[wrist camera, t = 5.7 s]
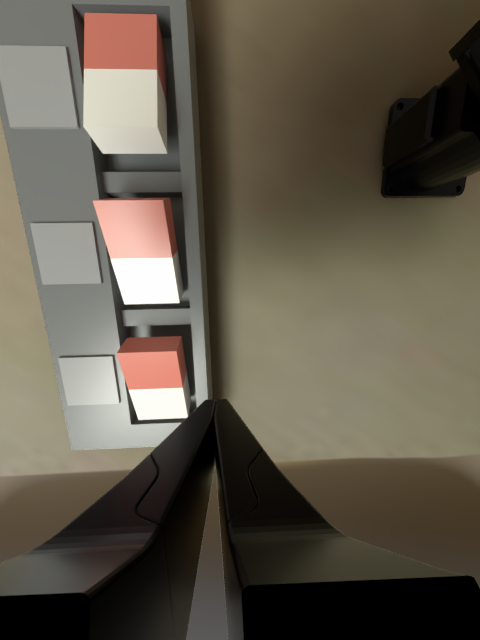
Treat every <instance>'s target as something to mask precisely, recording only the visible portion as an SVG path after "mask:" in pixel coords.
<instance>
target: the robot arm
mask: <svg viewBox="0 0 480 640" xmlns="http://www.w3.org/2000/svg"><path fill="white" fill-rule="evenodd" d="M449 54H450V56H451V58H452V60H453V61H454V60H456V61H457V63H458V64H459V66H460V67H459V68H458V69H457V70H456V71H455V72H454V73H452V74H451V75H450V76H449V77H448V78H447V79H446V80H445V81H443V82H442V83H441V84H440V85H439V86H437V85H436V86H434V87H433V88H432V89H430V90H429V91H428V92H427V93H426V94H425V95H424V96H423V97H421V98H420V99H419V98H401V99H398V100H396V101H395V102H394V103H393V104H392V106H391V108H390V113H389V123H388V128H387V130H386V139H385V148H384V158H383V167H384V169H383V179H382V188H381V194H382V196H383V197H385V198H429V197H456V196H459V195H461V194H462V193H463V191H464V188H465V183H466V177H467V176H469V175H471V174H474V173H476V172H479V171H480V20H479V21H478V22H477V23H476V24H475V25H474V26H473V27H472V28H471V29H470V30H469V31H468V32H467V33H466V34H465V35H464V36H463V38H462V39H461V40H460V41H459V42H458V43H457V44H456V45H455V46H454V47H453V48H452V49H451V50H450V51H449ZM397 106H398V107H399V108H400V111H399V110H398V109H397ZM388 188H390V193H389V192H388V190H387V189H388ZM455 188H456V189H457V191H455ZM215 463H216V479H217V493H218V506H219V519H220V533H221V545H222V559H223V572H224V586H225V600H226V613H227V626H228V640H480V588H479V586H478V584H477V582H476V581H475V579H474V578H473V577H472V576H467V575H462V574H458V573H454V572H450V571H446V570H443V569H439V568H436V567H433V566H430V565H427V564H425V563H422V562H419V561H416V560H413V559H410V558H407V557H404V556H402V555H399V554H396V553H393V552H390V551H387V550H384V549H382V548H379V547H376V546H373V545H370V544H367V543H364V542H361V541H358V540H356V539H353V538H351V537H348V536H346V535H345V534H343V533H342V532H340V531H339V530H337V529H336V528H335V527H334V526H332V525H331V524H330V523H329V522H328V521H327V520H326V519H325V518H324V517H323V516H322V515H321V514H320V513H319V512H318V511H317V510H316V508H314V507H313V505H312V504H311V503H310V502H309V501H308V500H307V499H306V498H305V497H304V496H303V495H302V494H301V493H300V492H299V491H298V490H297V489H296V487H295V486H293V484H292V483H291V482H290V481H289V480H288V479H287V478H286V477H285V476H284V474H282V472H281V471H280V470H279V469H278V468H277V466H276V465H275V464H274V462H273V461H272V460H271V459H270V457H269V456H268V454H267V453H266V452H265V450H264V449H263V448H262V446H261V445H260V444H259V442H258V441H257V439H256V438H255V437H254V435H253V434H252V433H251V431H250V430H249V428H248V427H247V426H246V424H245V423H244V422H243V420H242V419H241V417H240V416H239V415H238V413H237V412H236V411H235V409H234V408H233V406H232V405H231V404H230V402H229V401H228V400H227V399H217V400H215V399H207V400H204V401H203V402H202V403H201V404H200V405H199V406H198V407H197V408H196V409H195V410H194V411H193V412H192V413H191V414H190V415H189V416H188V417H187V418H186V419H185V420H184V421H183V422H182V423H181V424H180V425H179V426H178V427H177V428H176V429H175V430H174V431H173V432H172V433H171V434H170V435H169V436H168V437H167V438H166V439H164V440H163V441H162V442H161V443H160V444H159V445H158V446H157V447H156V448H155V449H154V450H153V451H152V452H151V453H150V455H148V456H147V457H146V458H145V459H144V460H143V461H142V462H141V463H140V464H139V465H138V466H136V467H135V468H134V469H133V470H132V471H131V472H130V473H129V474H128V475H127V476H126V477H124V478H123V479H122V480H121V481H120V482H119V483H118V484H116V485H115V486H114V487H113V488H112V489H110V490H109V491H108V492H107V493H106V494H104V495H103V496H102V497H101V498H100V499H98V500H97V501H96V502H95V503H93V504H92V505H91V506H90V507H89V508H87V509H86V510H85V511H84V512H83V513H81V514H80V515H79V516H78V517H76V518H75V519H74V520H73V521H72V522H70V523H69V524H68V525H67V526H65V527H64V528H63V529H62V530H61V531H59V532H58V533H57V534H55V535H54V536H53V537H51V538H50V539H49V540H47V541H46V542H44V543H43V544H41V545H40V546H38V547H36V548H34V549H33V550H31V551H29V552H27V553H24V554H22V555H20V556H17V557H15V558H12V559H9V560H6V561H3V562H0V640H186V636H187V630H188V624H189V617H190V612H191V606H192V600H193V593H194V587H195V581H196V576H197V570H198V564H199V558H200V552H201V546H202V540H203V534H204V528H205V521H206V516H207V510H208V503H209V498H210V492H211V486H212V480H213V474H214V467H215Z"/></svg>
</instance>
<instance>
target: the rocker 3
mask: <svg viewBox="0 0 480 640" xmlns="http://www.w3.org/2000/svg"><path fill="white" fill-rule="evenodd" d="M116 354H117V357H118V360H119V363H120V366H121V369H122V372H123V375H124V378H125V381H126V384H127V387H128V390H129V393H130V396H131V399H132V402H133V405H134V408H135V411H136V414H137V417H138V420H150V419H173V418H187V417H188V415H189V409H190V404H191V395H190V388H189V382H188V375H187V369H186V362H185V356H184V349H183V343H182V336H169V337H135V338H127V339H126V340H125V342H124V343H123V345H122V346H121V347H120V349H119V350H118V352H117V353H116Z"/></svg>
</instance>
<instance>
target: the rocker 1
mask: <svg viewBox="0 0 480 640" xmlns="http://www.w3.org/2000/svg"><path fill="white" fill-rule="evenodd" d="M83 127H84V128H85V130H86V131H87V132H88V134H89V135H90V136H91V138H92V139H93V141H94V142H95V143H96V145H97V146H98V148H99V149H100V150H101V152H102V153H103V154H167V85H166V52H165V48H164V44H163V39H162V35H161V31H160V27H159V23H158V18H157V14H120V13H85V17H84V104H83Z"/></svg>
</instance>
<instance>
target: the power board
mask: <svg viewBox="0 0 480 640" xmlns="http://www.w3.org/2000/svg"><path fill="white" fill-rule="evenodd" d="M85 13H120V14H157V18H158V23H159V27H160V31H161V35H162V39H163V44H164V48H165V52H166V85H167V154H103V153H102V152H101V150H100V149H99V148H98V146H97V145H96V143H95V142H94V141H93V139H92V138H91V136H90V135H89V134H88V132H87V131H86V130H85V128H84V127H83V104H84V17H85ZM0 115H1V120H2V124H3V129H4V134H5V138H6V143H7V148H8V152H9V157H10V162H11V167H12V171H13V176H14V181H15V185H16V190H17V195H18V199H19V204H20V209H21V214H22V218H23V223H24V228H25V232H26V237H27V242H28V246H29V251H30V256H31V261H32V265H33V270H34V275H35V279H36V284H37V289H38V293H39V298H40V303H41V308H42V312H43V317H44V322H45V326H46V331H47V336H48V340H49V345H50V350H51V355H52V359H53V364H54V369H55V373H56V378H57V383H58V388H59V392H60V397H61V402H62V406H63V411H64V416H65V420H66V425H67V430H68V435H69V439H70V444H71V449H72V450H92V449H114V448H135V447H157V446H158V445H159V444H160V443H161V442H162V441H163V440H164V439H166V438H167V437H168V436H169V435H170V434H171V433H172V432H173V431H174V430H175V429H176V428H177V427H178V426H179V425H180V424H181V423H182V422H183V421H184V420H185V419H186V418H173V419H150V420H138V417H137V414H136V411H135V408H134V405H133V402H132V399H131V396H130V393H129V390H128V387H127V384H126V381H125V378H124V375H123V372H122V369H121V366H120V363H119V360H118V357H117V354H116V353H117V352H118V350H119V349H120V347H121V346H122V345H123V343H124V342H125V340H126V339H127V338H135V337H169V336H182V343H183V349H184V356H185V362H186V369H187V375H188V382H189V388H190V395H191V404H190V409H189V415H190V414H191V413H192V412H193V411H194V410H195V409H196V408H197V407H198V406H199V405H200V404H201V403H202V402H203V401H204V400H207V399H213V391H212V371H211V350H210V330H209V310H208V290H207V270H206V249H205V229H204V209H203V189H202V169H201V148H200V128H199V108H198V88H197V68H196V47H195V29H194V22H193V15H192V9H191V2H190V0H0ZM106 198H170V201H171V208H172V215H173V221H174V228H175V235H176V242H177V249H178V256H179V262H180V269H181V276H182V283H183V290H184V293H183V296H182V298H181V301H180V303H163V304H124V301H123V298H122V295H121V292H120V288H119V285H118V282H117V279H116V275H115V272H114V269H113V265H112V262H111V259H110V256H109V252H108V249H107V246H106V243H105V239H104V236H103V233H102V230H101V226H100V223H99V220H98V216H97V213H96V210H95V207H94V203H93V200H99V199H106ZM189 415H188V416H189Z"/></svg>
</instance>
